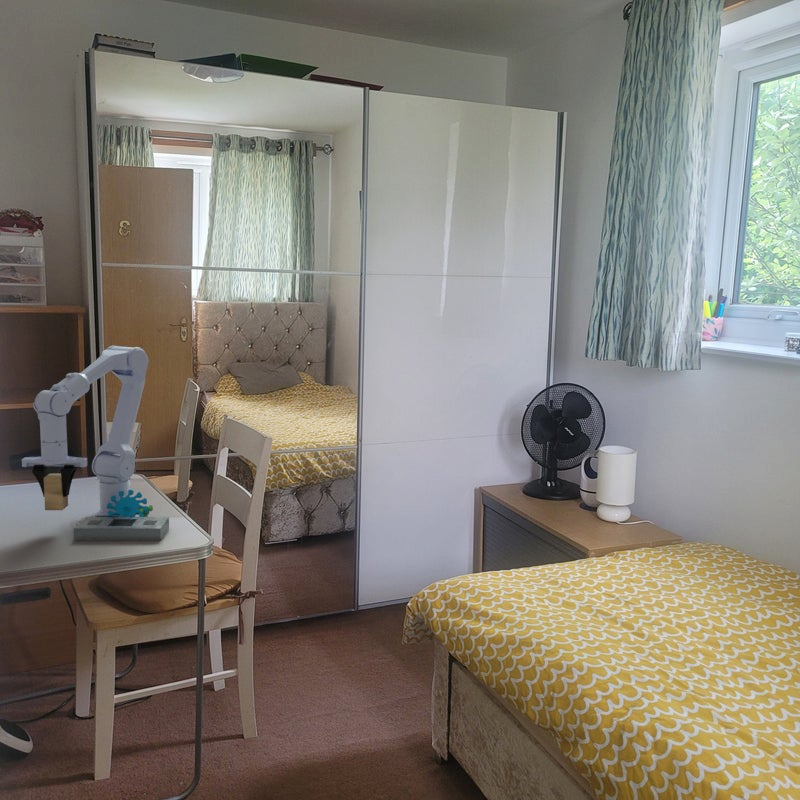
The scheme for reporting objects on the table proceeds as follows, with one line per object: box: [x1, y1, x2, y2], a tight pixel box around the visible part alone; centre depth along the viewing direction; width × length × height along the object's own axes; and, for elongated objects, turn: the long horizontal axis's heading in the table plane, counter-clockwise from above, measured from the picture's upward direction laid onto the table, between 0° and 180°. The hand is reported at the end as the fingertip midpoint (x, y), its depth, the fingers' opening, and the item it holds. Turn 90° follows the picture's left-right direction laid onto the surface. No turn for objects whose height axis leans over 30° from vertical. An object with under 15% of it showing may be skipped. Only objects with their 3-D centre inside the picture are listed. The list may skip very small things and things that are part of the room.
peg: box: [43, 473, 69, 511], centre depth 184 cm, size 4×4×8 cm
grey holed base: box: [73, 516, 170, 542], centre depth 185 cm, size 9×20×3 cm, turn 94°
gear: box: [107, 489, 154, 517], centre depth 196 cm, size 11×6×10 cm
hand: (56, 495), depth 184 cm, fingers closed on peg, 4 cm apart
